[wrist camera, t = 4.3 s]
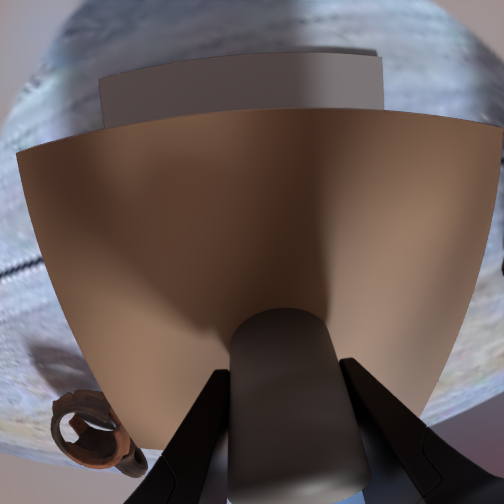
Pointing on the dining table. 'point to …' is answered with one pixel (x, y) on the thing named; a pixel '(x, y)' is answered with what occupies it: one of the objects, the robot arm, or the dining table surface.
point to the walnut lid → (266, 272)
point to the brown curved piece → (96, 435)
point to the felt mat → (243, 85)
